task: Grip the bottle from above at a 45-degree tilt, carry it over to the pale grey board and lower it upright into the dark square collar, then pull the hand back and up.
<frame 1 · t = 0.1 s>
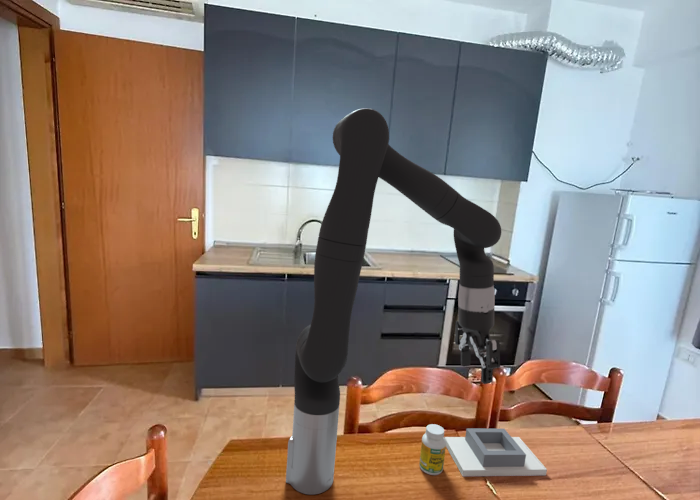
hand: (475, 373, 90), 22 cm above the table, tool pointing down, fingers open, 8 cm apart
collar board: (492, 458, 96), on the table
supplement bottle: (430, 468, 91), on the table
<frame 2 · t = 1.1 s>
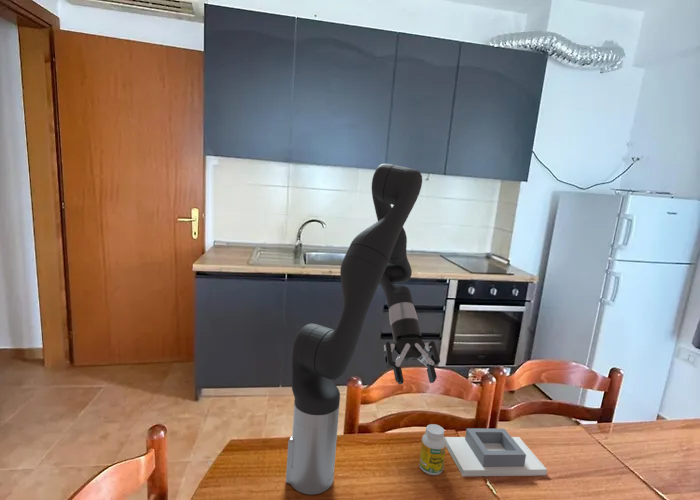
hand: (417, 382, 100), 15 cm above the table, tool tilted 45°, fingers open, 8 cm apart
nothing on the table moved.
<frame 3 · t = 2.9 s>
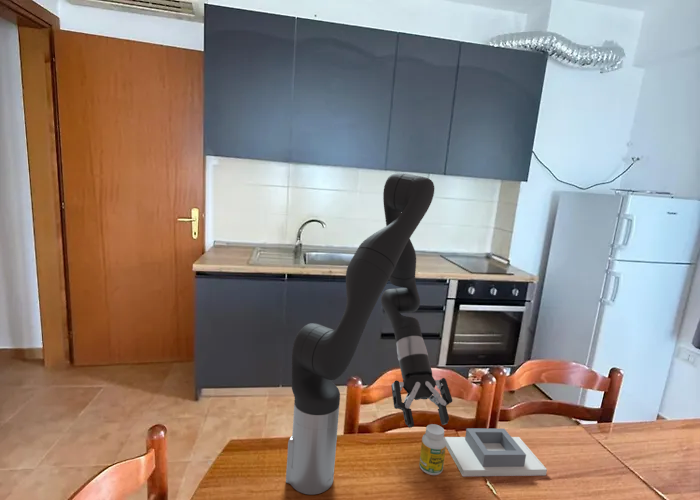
hand: (428, 425, 93), 8 cm above the table, tool tilted 45°, fingers open, 8 cm apart
nothing on the table moved.
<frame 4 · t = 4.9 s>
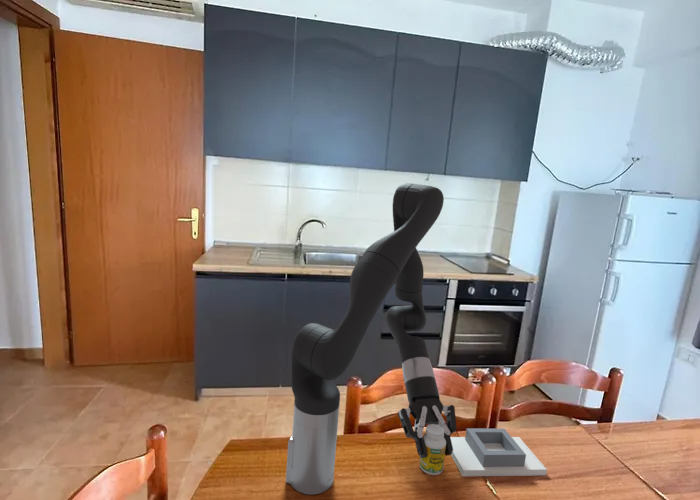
hand: (436, 455, 89), 4 cm above the table, tool tilted 45°, fingers closed on supplement bottle, 5 cm apart
supplement bottle: (430, 468, 91), on the table, touching gripper
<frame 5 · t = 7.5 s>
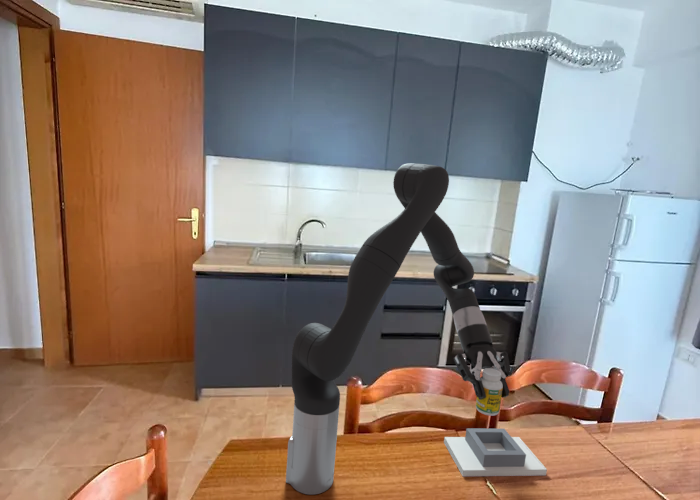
hand: (494, 397, 92), 17 cm above the table, tool tilted 45°, fingers closed on supplement bottle, 5 cm apart
supplement bottle: (486, 410, 94), point 12 cm above the table, touching gripper
when the fingers open (6 cm above the table, at t = 10.6 s): supplement bottle stays where it is, resting on collar board.
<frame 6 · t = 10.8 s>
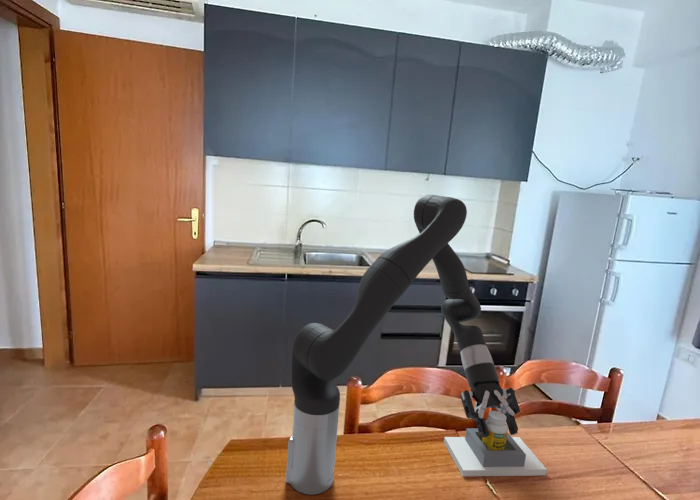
hand: (500, 435, 94), 7 cm above the table, tool tilted 45°, fingers open, 7 cm apart
supplement bottle: (492, 452, 96), point 1 cm above the table, touching collar board
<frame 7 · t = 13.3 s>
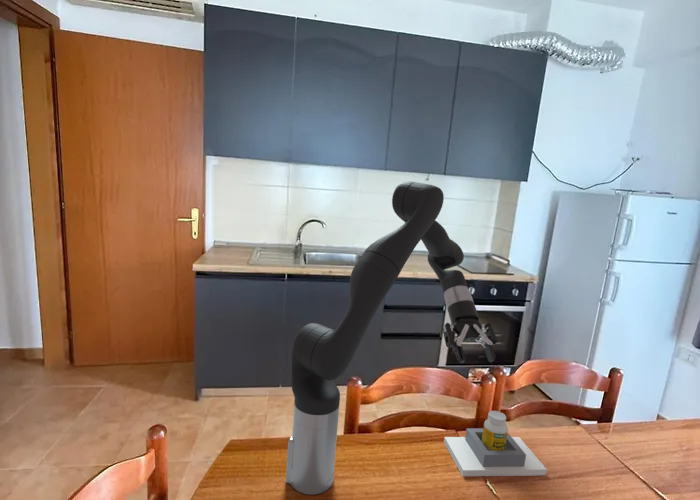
hand: (477, 361, 104), 20 cm above the table, tool tilted 45°, fingers open, 8 cm apart
nothing on the table moved.
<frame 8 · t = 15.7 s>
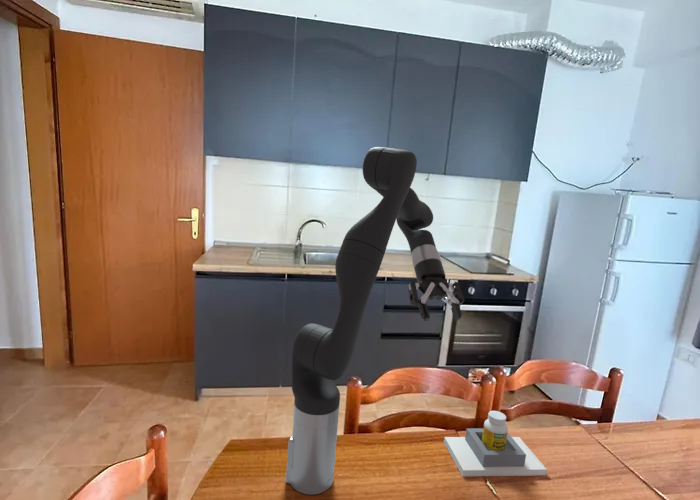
hand: (442, 319, 100), 31 cm above the table, tool tilted 45°, fingers open, 8 cm apart
nothing on the table moved.
at the end: supplement bottle 0.2 cm off-centre on the collar board, point 1.3 cm above the collar board's base; supplement bottle tilted 0°; the gripper is holding nothing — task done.
